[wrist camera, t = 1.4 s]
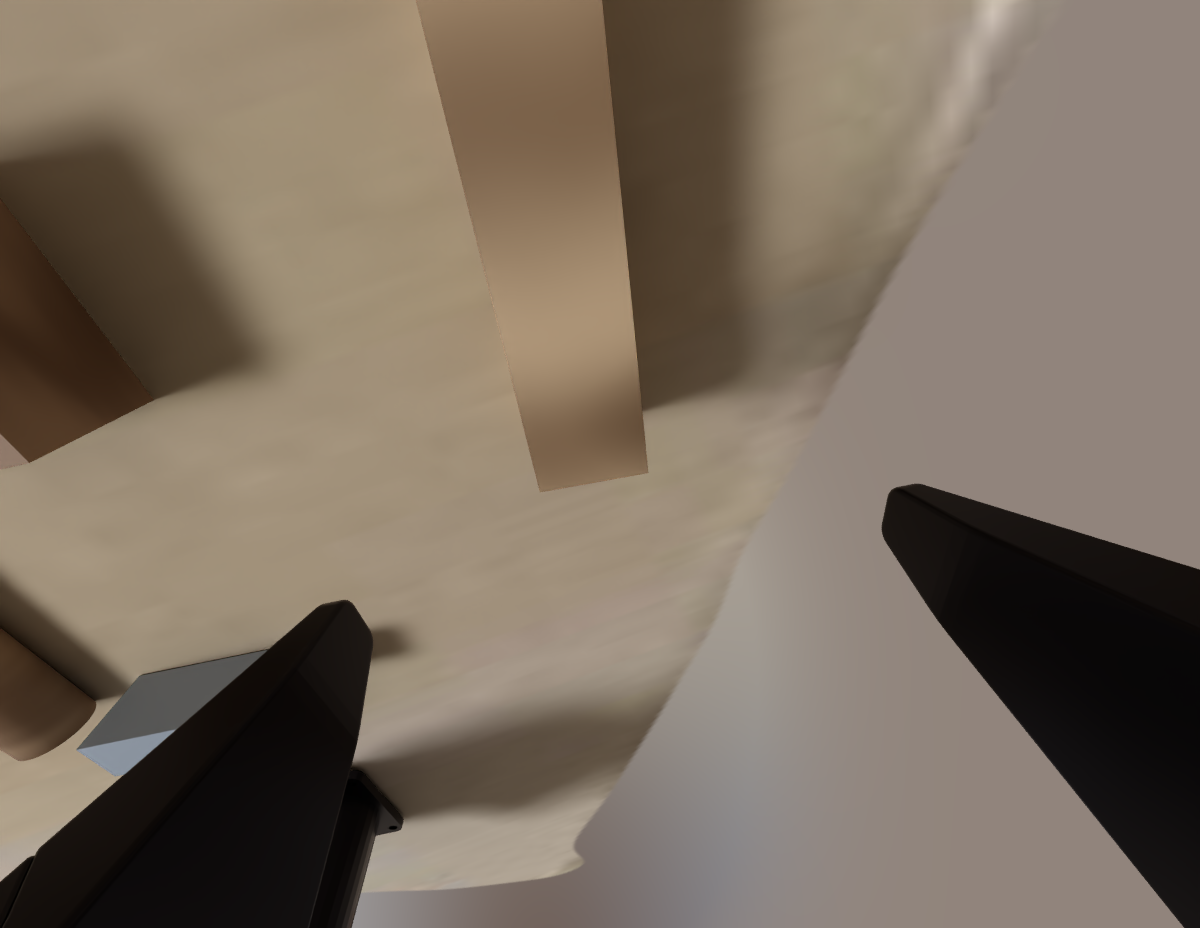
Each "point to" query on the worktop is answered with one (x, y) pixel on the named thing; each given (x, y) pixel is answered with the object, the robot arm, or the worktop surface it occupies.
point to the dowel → (36, 703)
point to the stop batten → (157, 710)
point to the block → (51, 358)
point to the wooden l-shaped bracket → (547, 221)
